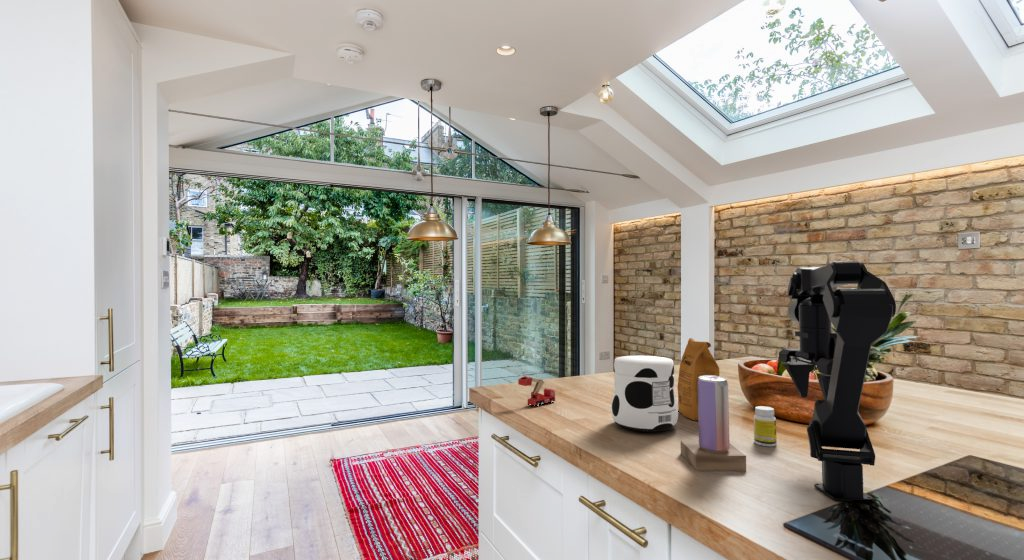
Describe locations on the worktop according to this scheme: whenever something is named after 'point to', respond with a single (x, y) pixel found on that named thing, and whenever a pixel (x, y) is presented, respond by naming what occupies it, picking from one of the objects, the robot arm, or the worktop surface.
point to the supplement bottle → (764, 426)
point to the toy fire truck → (535, 396)
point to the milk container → (644, 393)
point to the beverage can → (713, 414)
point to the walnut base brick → (712, 458)
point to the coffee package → (694, 375)
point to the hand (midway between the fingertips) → (816, 402)
